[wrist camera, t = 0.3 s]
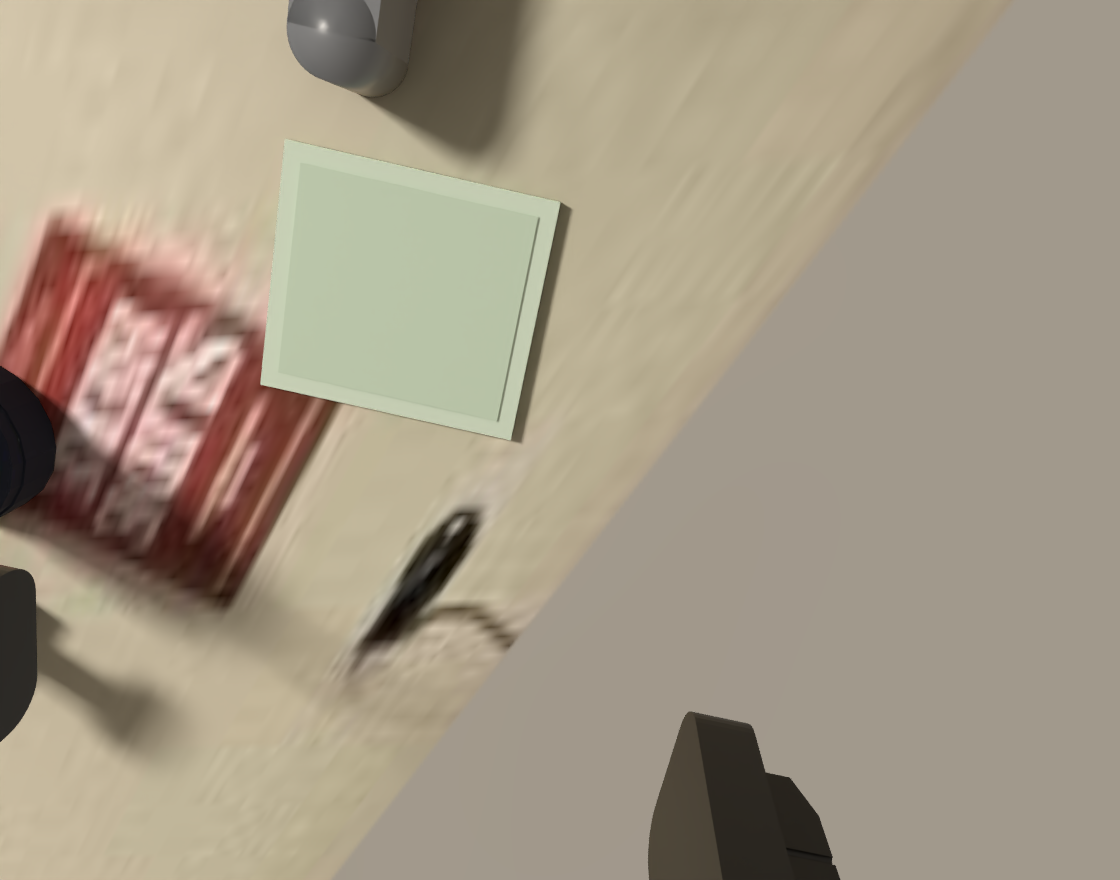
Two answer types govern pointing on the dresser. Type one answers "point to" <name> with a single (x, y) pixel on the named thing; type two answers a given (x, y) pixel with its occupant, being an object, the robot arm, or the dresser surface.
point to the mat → (404, 289)
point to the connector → (353, 41)
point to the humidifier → (22, 444)
